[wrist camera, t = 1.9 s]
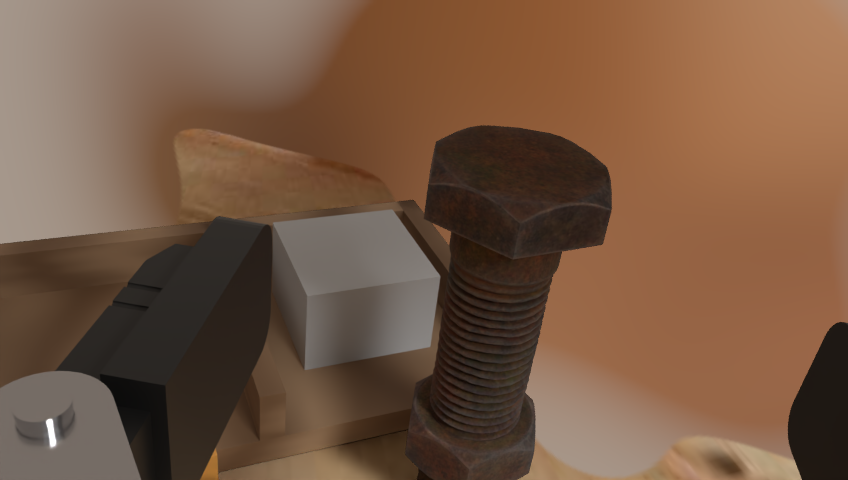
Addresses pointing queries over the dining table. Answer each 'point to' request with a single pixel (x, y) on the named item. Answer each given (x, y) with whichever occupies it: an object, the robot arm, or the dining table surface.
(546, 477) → the dining table surface
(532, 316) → the bolt
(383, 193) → the dining table surface
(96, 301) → the tray
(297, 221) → the grey block
